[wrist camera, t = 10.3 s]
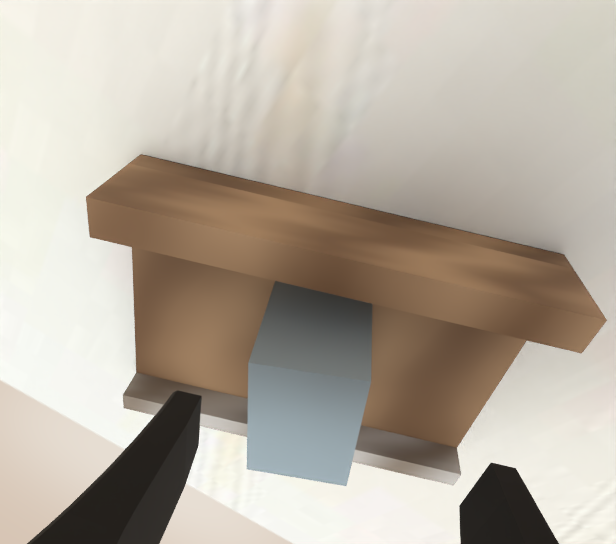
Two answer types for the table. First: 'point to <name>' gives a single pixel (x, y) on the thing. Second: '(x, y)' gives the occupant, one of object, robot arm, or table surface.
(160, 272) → the wooden shelf
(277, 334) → the gray box
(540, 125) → the table surface
